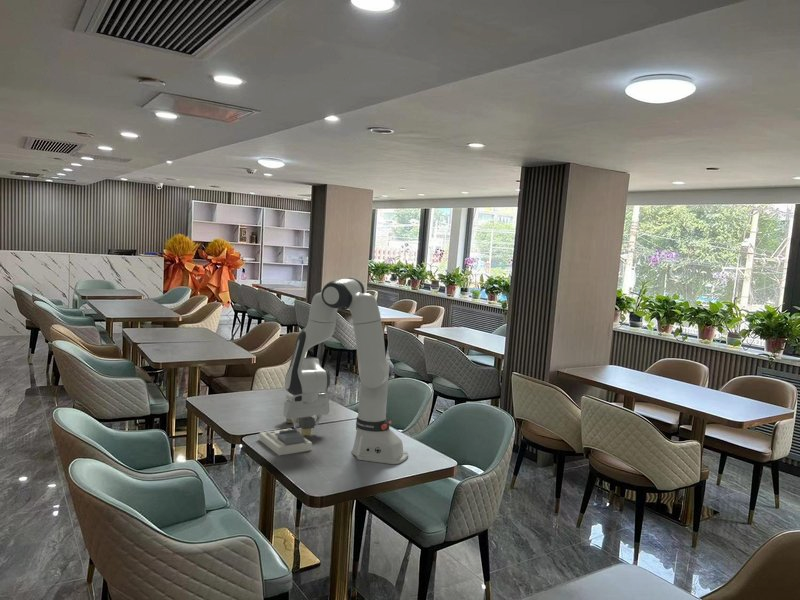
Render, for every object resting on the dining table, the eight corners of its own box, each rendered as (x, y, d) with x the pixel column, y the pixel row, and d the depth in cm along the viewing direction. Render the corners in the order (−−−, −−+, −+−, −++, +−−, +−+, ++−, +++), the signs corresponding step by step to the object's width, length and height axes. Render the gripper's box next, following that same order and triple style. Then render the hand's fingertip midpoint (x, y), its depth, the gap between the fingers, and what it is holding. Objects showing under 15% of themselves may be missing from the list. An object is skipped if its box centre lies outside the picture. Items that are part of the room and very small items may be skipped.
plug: (313, 435, 249) (314, 418, 249) (303, 436, 247) (303, 420, 246) (308, 431, 253) (309, 415, 253) (298, 433, 251) (298, 416, 250)
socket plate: (311, 450, 231) (312, 440, 231) (278, 455, 223) (279, 445, 223) (290, 435, 247) (291, 426, 247) (259, 439, 239) (259, 430, 239)
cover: (303, 441, 230) (304, 433, 230) (284, 444, 226) (285, 436, 225) (296, 436, 236) (296, 428, 236) (277, 439, 231) (277, 431, 231)
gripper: (326, 390, 257) (324, 421, 258) (282, 395, 245) (281, 427, 246) (332, 394, 252) (331, 425, 253) (288, 398, 240) (287, 431, 241)
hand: (306, 426), depth 250 cm, fingers open, 8 cm apart
